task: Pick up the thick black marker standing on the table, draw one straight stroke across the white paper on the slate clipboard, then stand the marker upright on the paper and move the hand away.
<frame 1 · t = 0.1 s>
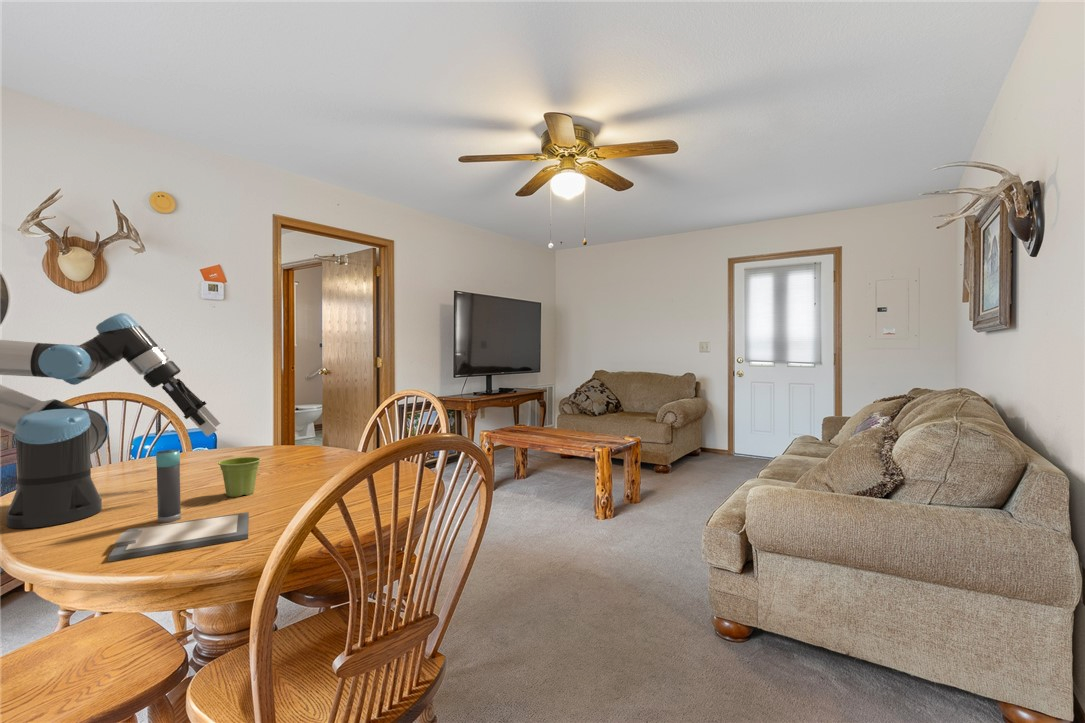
hand: (214, 429, 136), 15 cm above the table, tool tilted 35°, fingers open, 13 cm apart
clipboard: (187, 536, 98), on the table
marker: (169, 519, 108), on the table
plant pot: (240, 494, 128), on the table
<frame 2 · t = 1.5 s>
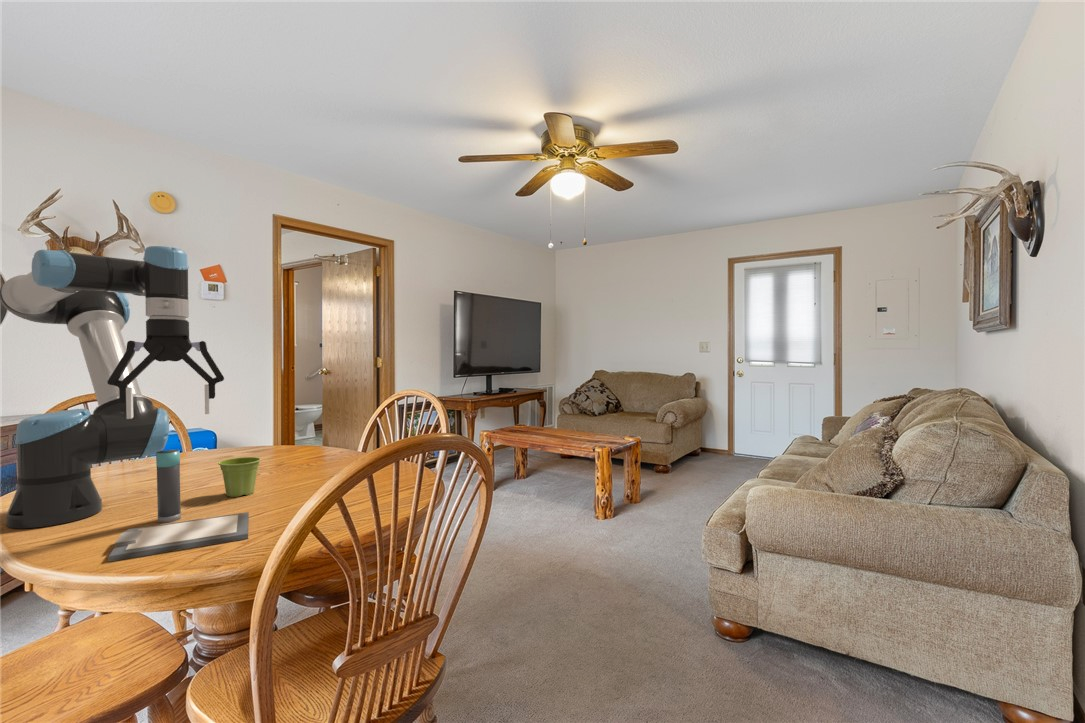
hand: (170, 415, 109), 23 cm above the table, tool pointing down, fingers open, 13 cm apart
nothing on the table moved.
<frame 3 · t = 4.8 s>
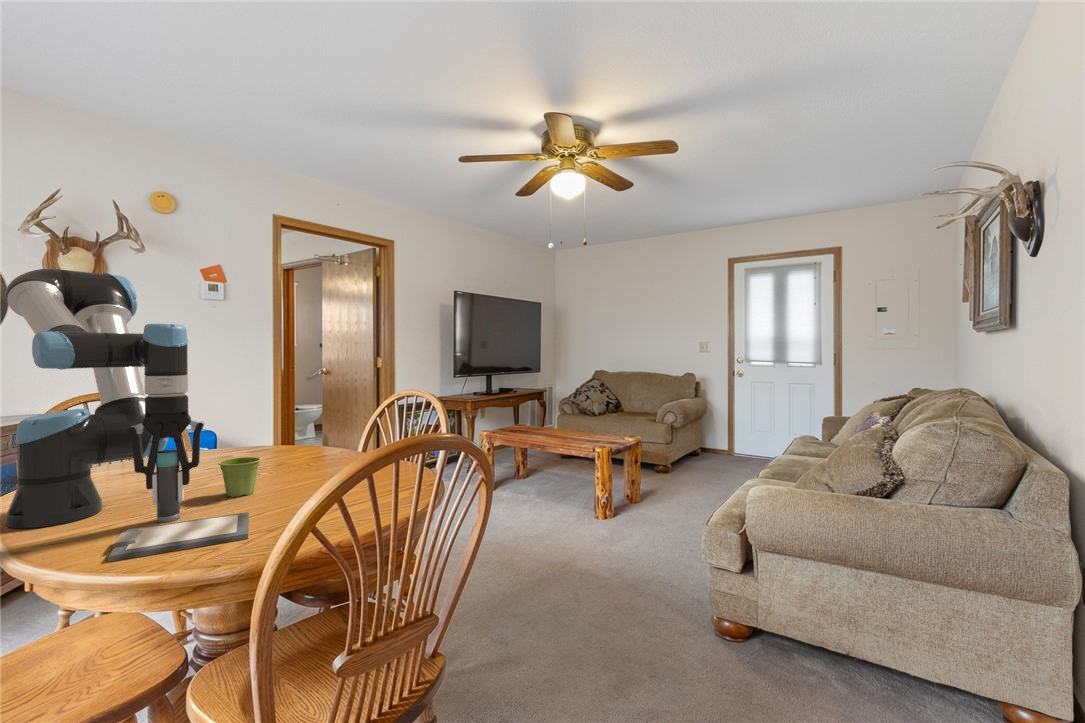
hand: (168, 501, 108), 4 cm above the table, tool pointing down, fingers closed on marker, 4 cm apart
marker: (168, 519, 108), on the table, touching gripper
everything else where it was.
when the fingers open (6 cm above the table, at t = 13.6 s): marker drops 2 cm, resting on clipboard.
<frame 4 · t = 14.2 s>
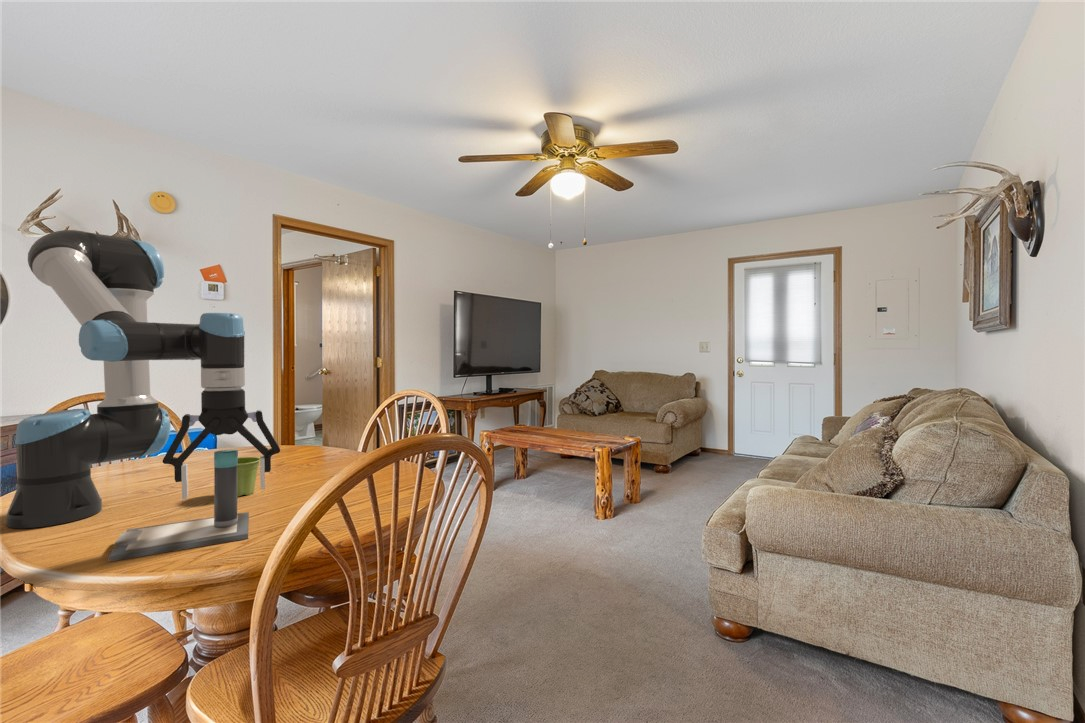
hand: (225, 492, 102), 8 cm above the table, tool pointing down, fingers open, 13 cm apart
marker: (225, 524, 102), point 1 cm above the table, touching clipboard
everything else where it was.
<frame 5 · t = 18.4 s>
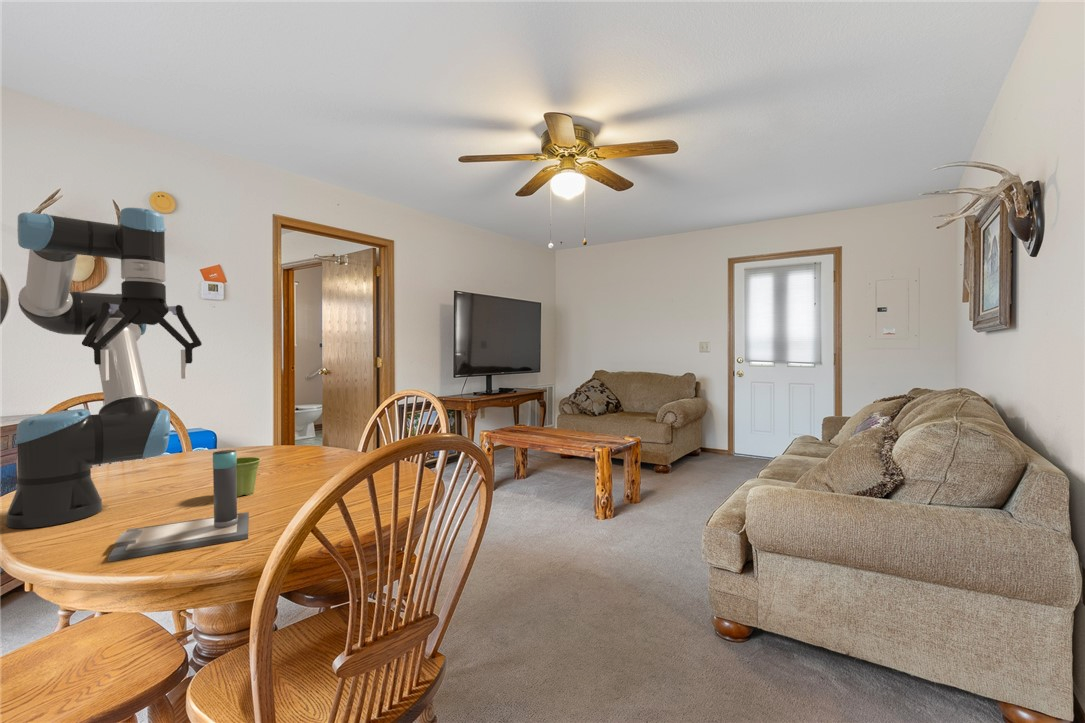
hand: (145, 379, 108), 31 cm above the table, tool pointing down, fingers open, 13 cm apart
nothing on the table moved.
at the end: marker inside the target area on the clipboard (0.1 cm from its centre), point 1.2 cm above the clipboard's base; marker tilted 0°; marker moved 17.9 cm from its start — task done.
